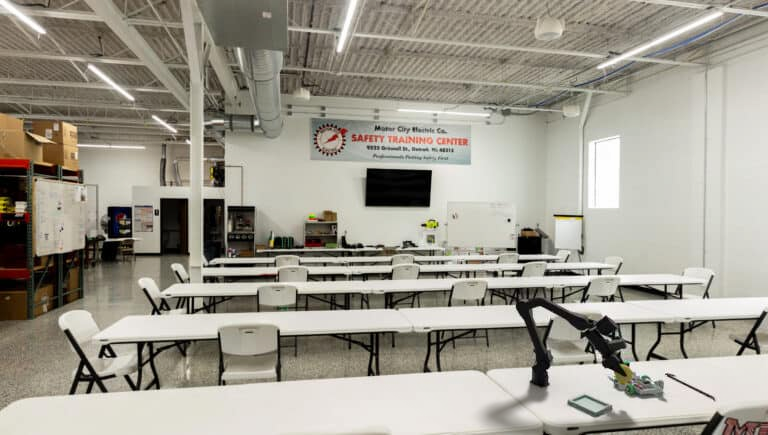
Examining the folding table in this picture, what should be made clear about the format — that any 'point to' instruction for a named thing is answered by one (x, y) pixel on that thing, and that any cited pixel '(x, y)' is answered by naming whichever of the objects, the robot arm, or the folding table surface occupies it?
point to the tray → (590, 404)
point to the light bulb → (623, 379)
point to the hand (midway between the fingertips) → (626, 373)
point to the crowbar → (690, 386)
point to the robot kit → (641, 384)
